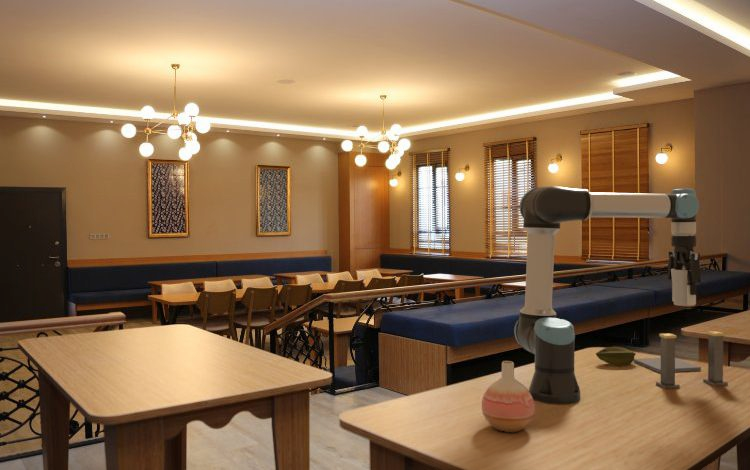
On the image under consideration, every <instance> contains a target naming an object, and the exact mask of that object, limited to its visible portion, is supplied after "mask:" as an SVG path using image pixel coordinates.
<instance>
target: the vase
mask: <svg viewBox="0 0 750 470" xmlns="http://www.w3.org/2000/svg"><path fill="white" fill-rule="evenodd" d="M481 412H482V415H483V418H484V419H485V420H486V422H488V424H490V425H491V426H492V427H493V428H494V429H495V430H496V429H497V431H498V430H500V431H499V432H502V431H505V432H504V433H509V432H512V433H518V432H520V430H521V431H522V430H523V429H524V428H525V427H527V426H528V425H530V423H531V422H532V421H533V419H534V416H535V412H536V406H535V400H534V399H533V397H532V395H531V393H530V392H529V388H527V387H526V386H525V385H524V384H523V383H521V382H520V381H519V380H517V379H516V378H515V363H514V362H513V361H511V360H503V361H502V362H501V378H499V379H497V380H495V381H494V382H492V383H491V385H490V386H489V387H487V388H486V390H485V392H484V393H483V396H482V398H481ZM517 431H518V432H517Z"/></svg>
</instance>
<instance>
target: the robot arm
mask: <svg viewBox="0 0 750 470" xmlns="http://www.w3.org/2000/svg"><path fill="white" fill-rule="evenodd" d="M518 206H519V212H520V215H521V216H522V218H523V223H522V224H523V229H524V231H525V232H526V233H527V242H526V243H527V246H526V267H525V268H526V269H525V270H526V271H525V272H526V273H525V293H524V295H525V296H524V306H523V307H522V308H521V309H519V319H518V320H516V322H515V325H514V328H513V331H514V332H513V334H514V337H515V340H516V341H517V344H519V345H520V347H521V348H523V350H525V351H527V352H529V353H531V354H532V355H533V354H534V372H533V376H532V379H531V382H530V385H529V388H528V390H529V392H530V393H531V395H532V397H533V400H534V401H538V402H539V403H546V404H551V405H552V404H555V405H569V404H575V403H577V402H579V401H580V400H581V389H580V386H579V383H578V380H577V377H576V373H575V339H576V334H575V326H574V325H573V324H572V322H570V321H568V320H567V319H563V318H561V319H560V318H557V312H556V311H555V309H553V305H552V304H553V289H554V264H555V241H556V240H555V239H556V234H557V233H558V232H559V231H560V230H561V223H566V222H574V221H586V220H588V219H589V218H629V219H630V218H634V219H635V218H642V219H671V222H670V225H671V226H670V227H671V228H670V229H671V230H670V232H671V233H670V234H671V240H670V241H671V242H670V243H671V245H670V246H671V247H673V249H674V250H673V251H671V250H670V251H668V268H667V269H668V270H667V280H670V282H671V283H672V275H671V269H672V268H674V270H682V268H685V270H688V271H687V279H688V283H687V305H694V306H696V305H697V285H699V284H700V285H701V284H702V276H701V275H702V274H701V266H700V265H701V264H700V263H701V262H700V258H701V253H698V252H697V253H696V252H695V251H694V247H695V248H696V246H697V236H696V234H697V213H698V212H699V209H700V202H699V199H698V198H697V192H696V190H695V189H694V188H676V189H672V190H671V193H647V192H646V193H641V192H639V193H637V192H634V193H633V192H631V193H630V192H590V191H589V189H586V188H571V187H564V186H559V185H558V186H557V185H549V186H537V187H534V188H532V189H530V190H528V191H527V192H525V193H524V195H523V196H522V197H521V199H520V201H519V205H518ZM689 270H691V271H689ZM671 294H672V295H671V298H672V300H671V301H672V302H674V298H673V286H672V285H671Z"/></svg>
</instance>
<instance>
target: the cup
mask: <svg viewBox="0 0 750 470" xmlns="http://www.w3.org/2000/svg"><path fill="white" fill-rule="evenodd" d="M687 271H688V270H685V267H683V268H682V270H674V268H672V269H671V276H672V282H671V287H672V286H673V298H674V301H673V305H674V306H679V307H694V306H695V305H687V283H688V279H687ZM689 271H691V270H689Z"/></svg>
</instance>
